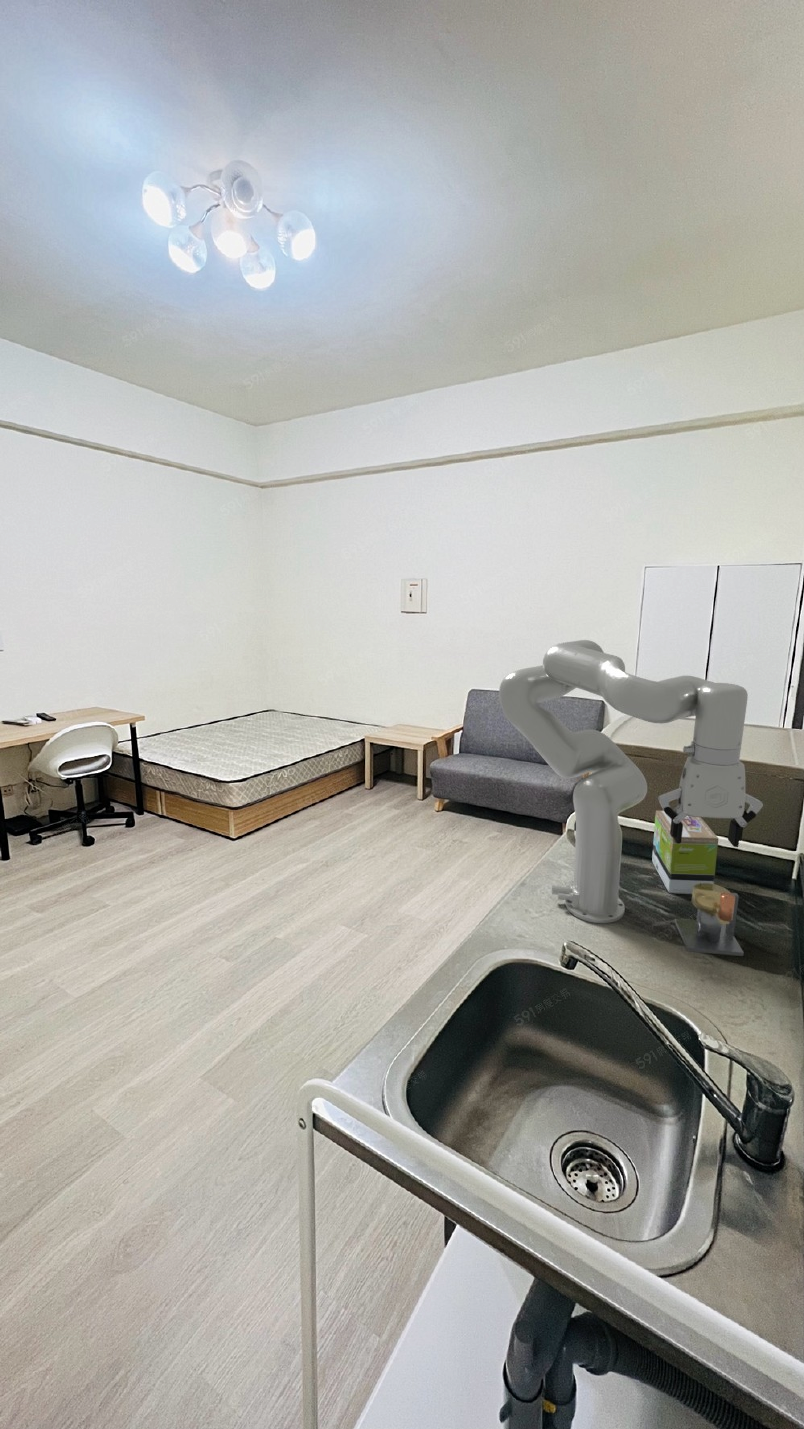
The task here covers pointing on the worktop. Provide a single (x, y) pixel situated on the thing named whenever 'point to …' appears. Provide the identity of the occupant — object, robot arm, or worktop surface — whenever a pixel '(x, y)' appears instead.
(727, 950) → the grey crank stand
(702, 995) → the worktop surface
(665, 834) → the tea box
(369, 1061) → the worktop surface
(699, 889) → the crank with handle
